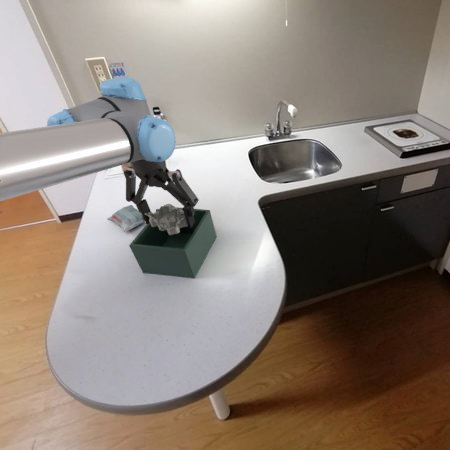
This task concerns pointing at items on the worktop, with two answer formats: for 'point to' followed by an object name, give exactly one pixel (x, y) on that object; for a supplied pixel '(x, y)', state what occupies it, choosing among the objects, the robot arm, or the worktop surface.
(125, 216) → the packaged food
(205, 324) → the worktop surface
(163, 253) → the trash bin
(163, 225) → the egg carton
